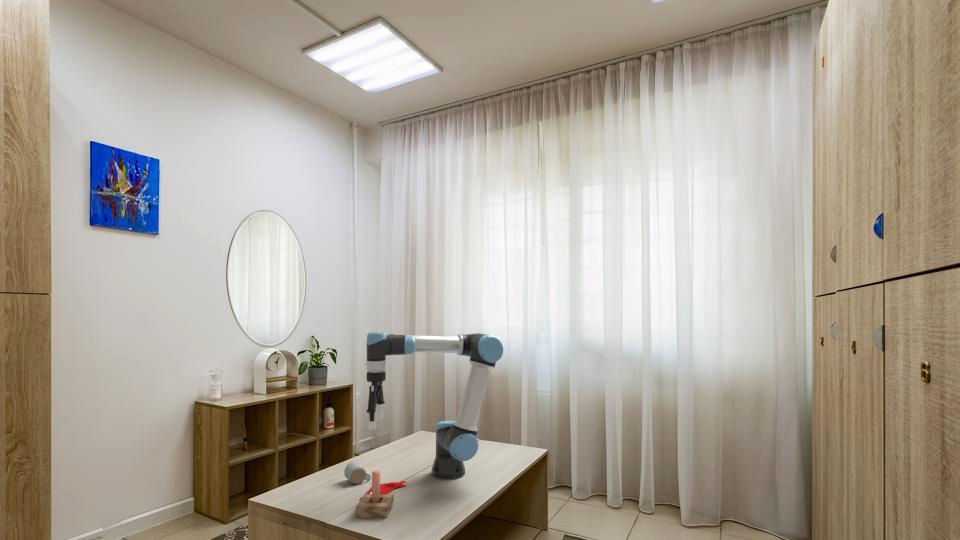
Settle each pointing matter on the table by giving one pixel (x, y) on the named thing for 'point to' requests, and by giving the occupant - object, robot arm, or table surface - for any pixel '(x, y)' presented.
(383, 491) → the cloth
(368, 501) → the square frame
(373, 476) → the dowel
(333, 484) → the table surface
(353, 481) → the ceramic mug
